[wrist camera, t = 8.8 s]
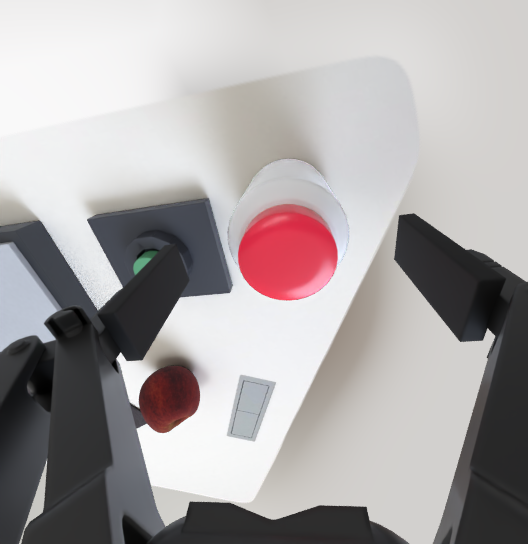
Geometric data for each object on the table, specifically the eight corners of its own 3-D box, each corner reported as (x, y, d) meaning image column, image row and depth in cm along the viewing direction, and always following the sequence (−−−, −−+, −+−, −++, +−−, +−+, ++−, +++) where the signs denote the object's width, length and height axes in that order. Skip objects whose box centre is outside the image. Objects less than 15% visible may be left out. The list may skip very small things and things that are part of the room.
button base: (208, 197, 23) (199, 207, 21) (232, 285, 28) (227, 302, 26) (95, 214, 25) (74, 225, 23) (137, 294, 30) (123, 310, 28)
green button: (166, 248, 24) (159, 255, 22) (178, 276, 25) (172, 285, 24) (135, 251, 24) (127, 259, 23) (149, 279, 26) (141, 288, 24)
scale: (39, 220, 26) (9, 232, 23) (111, 332, 34) (95, 352, 31) (-80, 238, 28) (-121, 251, 26) (13, 339, 37) (-10, 358, 34)
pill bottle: (340, 164, 21) (382, 200, 12) (319, 247, 25) (338, 322, 16) (249, 152, 21) (218, 178, 12) (243, 237, 25) (216, 306, 16)
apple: (187, 393, 40) (166, 449, 33) (145, 369, 38) (113, 424, 31) (215, 374, 37) (199, 432, 30) (171, 346, 35) (143, 402, 28)
